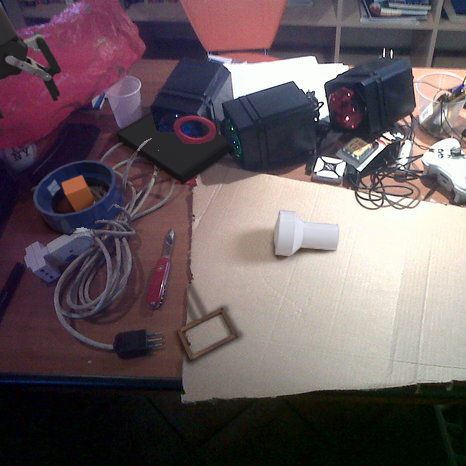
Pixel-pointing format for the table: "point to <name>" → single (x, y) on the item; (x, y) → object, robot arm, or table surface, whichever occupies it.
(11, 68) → the robot arm
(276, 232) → the spotlight
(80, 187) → the block
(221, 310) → the wooden frame tray
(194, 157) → the external hard drive
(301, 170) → the table surface
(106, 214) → the blue plastic ring
